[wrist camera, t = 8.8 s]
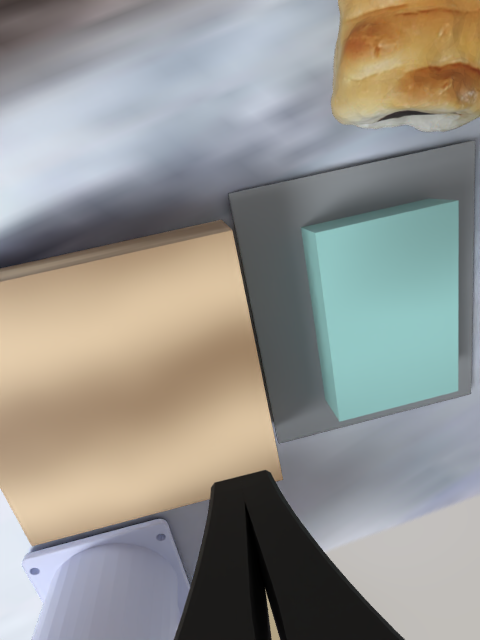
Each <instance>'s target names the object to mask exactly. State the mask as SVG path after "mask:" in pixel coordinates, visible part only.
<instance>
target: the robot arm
mask: <svg viewBox="0 0 480 640" xmlns="http://www.w3.org/2000/svg"><path fill="white" fill-rule="evenodd" d="M159 534H163V535H159ZM22 567H23V569H24V571H25V573H26V574H27V576H28V578H29V580H30V581H31V583H32V585H33V587H34V588H35V590H36V592H37V594H38V595H39V597H40V599H41V601H42V602H43V606H42V609H41V612H40V615H39V618H38V621H37V624H36V627H35V630H34V633H33V636H32V639H31V640H271V631H270V624H269V615H268V607H267V599H266V593H267V596H268V599H269V602H270V606H271V609H272V613H273V616H274V620H275V623H276V626H277V630H278V633H279V637H280V640H404V639H403V637H402V636H400V634H398V632H396V631H395V630H394V629H393V628H392V627H391V626H390V625H389V623H388V622H387V621H386V620H385V619H384V618H383V617H382V616H381V615H380V614H379V613H378V612H377V611H376V610H375V609H374V608H373V607H372V606H371V605H370V604H369V603H368V602H367V601H366V600H365V599H364V597H363V596H362V595H361V594H360V593H359V592H358V591H357V590H356V589H355V587H354V586H353V585H352V584H351V583H350V582H349V581H348V580H347V578H346V577H345V576H344V575H343V574H342V573H341V572H340V570H339V569H338V568H337V567H336V566H335V565H334V563H333V562H332V561H331V560H330V559H329V557H328V556H327V555H326V554H325V552H324V551H323V550H322V549H321V548H320V546H319V545H318V544H317V542H316V541H315V540H314V538H313V537H312V536H311V535H310V533H309V532H308V531H307V529H306V528H305V527H304V525H303V524H302V523H301V521H300V520H299V519H298V517H297V516H296V514H295V513H294V511H293V510H292V508H291V507H290V505H289V504H288V502H287V501H286V499H285V498H284V496H283V494H282V493H281V491H280V489H279V488H278V486H277V484H276V482H275V480H274V478H273V476H272V474H271V472H269V471H267V470H262V471H258V472H255V473H251V474H247V475H243V476H239V477H235V478H231V479H227V480H223V481H219V482H215V483H214V484H213V485H212V487H211V493H210V502H209V510H208V516H207V521H206V526H205V531H204V536H203V540H202V544H201V548H200V552H199V557H198V561H197V565H196V569H195V573H194V576H193V580H192V583H191V586H190V584H189V581H188V579H187V576H186V573H185V570H184V567H183V565H182V562H181V559H180V556H179V554H178V551H177V548H176V545H175V542H174V540H173V537H172V534H171V531H170V528H169V526H168V523H167V522H166V521H165V520H164V519H155V520H151V521H148V522H144V523H140V524H136V525H133V526H129V527H125V528H121V529H118V530H114V531H110V532H106V533H102V534H99V535H95V536H91V537H87V538H84V539H80V540H76V541H72V542H69V543H65V544H61V545H57V546H54V547H50V548H46V549H42V550H38V551H35V552H31V553H28V554H26V555H25V556H24V559H23V561H22ZM265 589H266V591H265Z"/></svg>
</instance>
